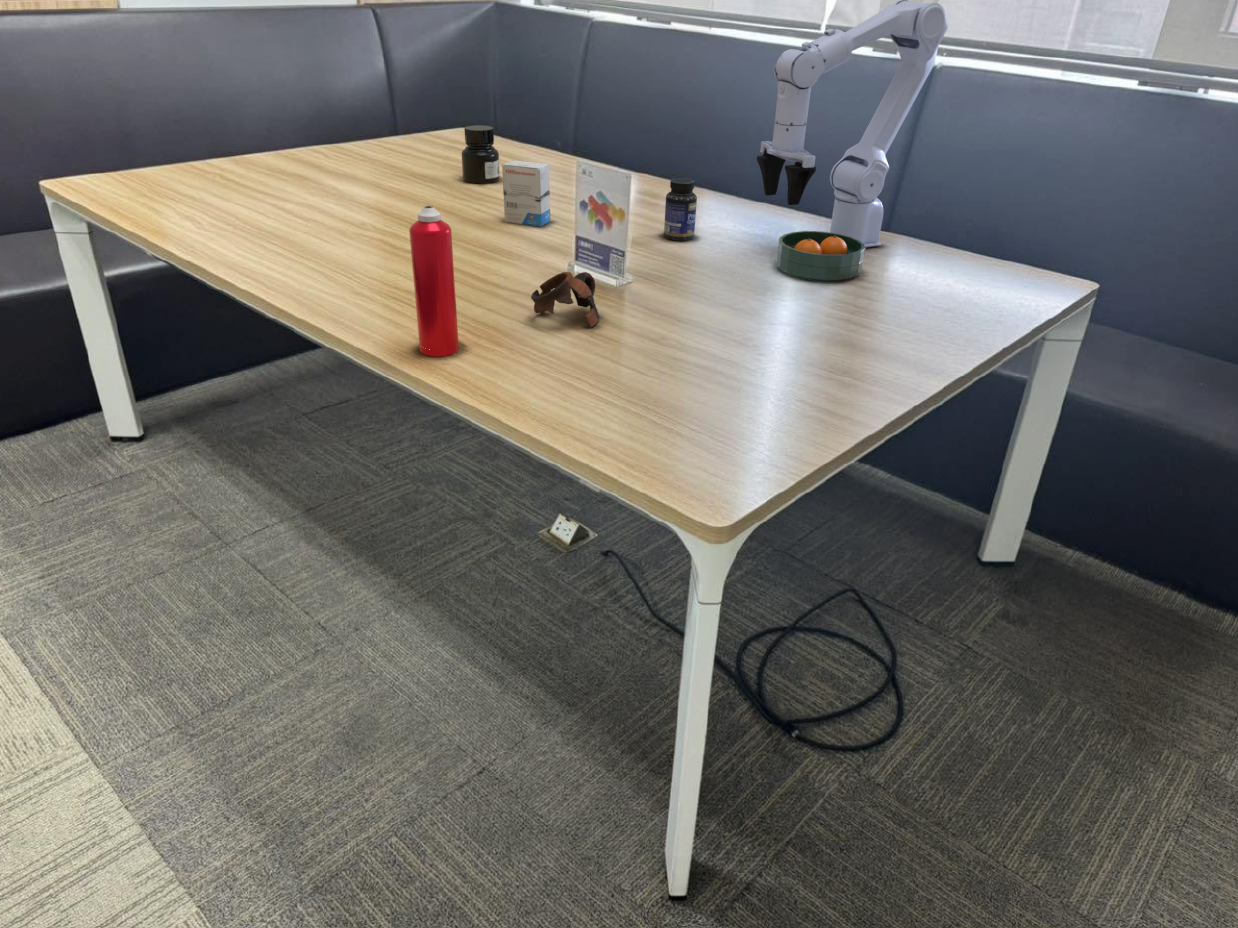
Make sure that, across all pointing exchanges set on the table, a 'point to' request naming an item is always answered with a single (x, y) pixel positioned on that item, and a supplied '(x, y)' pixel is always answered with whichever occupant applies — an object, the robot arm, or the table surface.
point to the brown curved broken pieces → (567, 294)
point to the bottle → (434, 284)
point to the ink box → (526, 193)
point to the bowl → (819, 257)
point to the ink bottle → (480, 155)
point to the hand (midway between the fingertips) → (781, 199)
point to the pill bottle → (680, 210)
